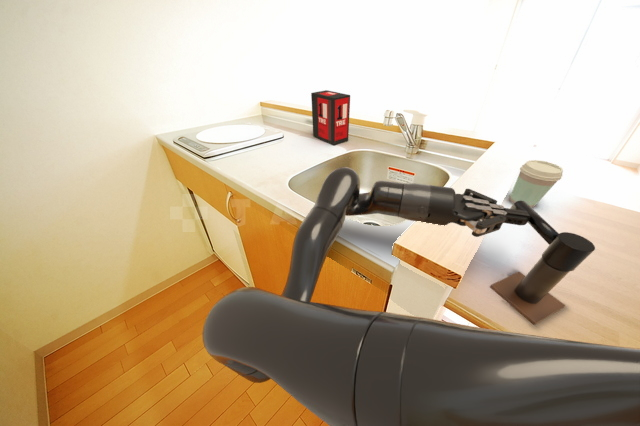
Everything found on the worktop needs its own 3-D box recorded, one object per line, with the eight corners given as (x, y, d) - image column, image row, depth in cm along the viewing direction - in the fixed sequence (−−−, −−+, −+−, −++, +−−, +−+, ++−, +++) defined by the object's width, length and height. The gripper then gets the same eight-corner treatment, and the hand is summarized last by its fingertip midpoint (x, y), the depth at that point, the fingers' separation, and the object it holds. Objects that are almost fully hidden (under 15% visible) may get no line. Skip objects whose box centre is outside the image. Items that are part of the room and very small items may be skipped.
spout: (581, 272, 34) (603, 252, 31) (552, 270, 35) (571, 250, 32) (521, 211, 46) (533, 193, 43) (500, 210, 46) (511, 192, 44)
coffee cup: (546, 212, 62) (575, 173, 55) (515, 213, 63) (539, 174, 55) (525, 195, 69) (548, 158, 62) (496, 196, 69) (516, 159, 62)
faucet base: (560, 309, 41) (603, 273, 34) (531, 327, 38) (571, 291, 32) (515, 275, 47) (544, 239, 40) (487, 289, 44) (514, 252, 38)
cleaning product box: (348, 141, 110) (350, 95, 97) (333, 145, 105) (334, 98, 93) (326, 132, 120) (326, 90, 108) (313, 136, 116) (311, 92, 104)
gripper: (418, 200, 53) (505, 213, 48) (420, 239, 43) (529, 259, 38) (427, 171, 48) (524, 182, 43) (430, 207, 38) (557, 226, 34)
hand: (526, 218), depth 41 cm, fingers closed
